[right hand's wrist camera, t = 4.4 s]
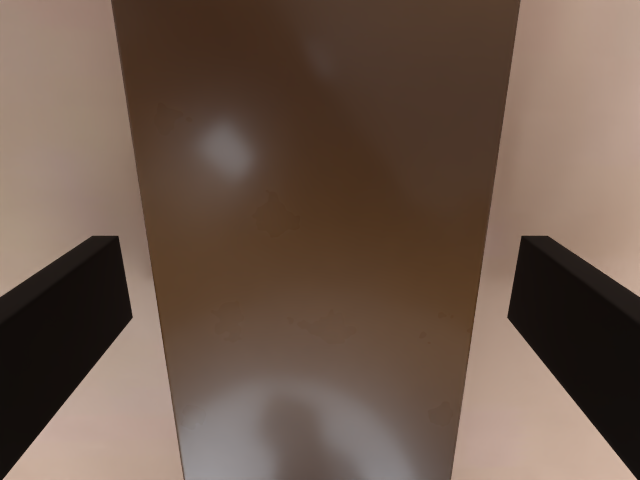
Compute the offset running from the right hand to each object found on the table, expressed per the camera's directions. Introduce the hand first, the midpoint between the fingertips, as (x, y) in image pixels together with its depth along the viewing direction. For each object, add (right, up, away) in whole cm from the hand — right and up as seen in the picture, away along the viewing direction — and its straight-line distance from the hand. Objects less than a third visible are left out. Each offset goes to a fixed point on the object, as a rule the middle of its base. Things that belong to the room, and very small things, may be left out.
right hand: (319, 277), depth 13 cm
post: (0, -16, +8) cm, 19 cm away
